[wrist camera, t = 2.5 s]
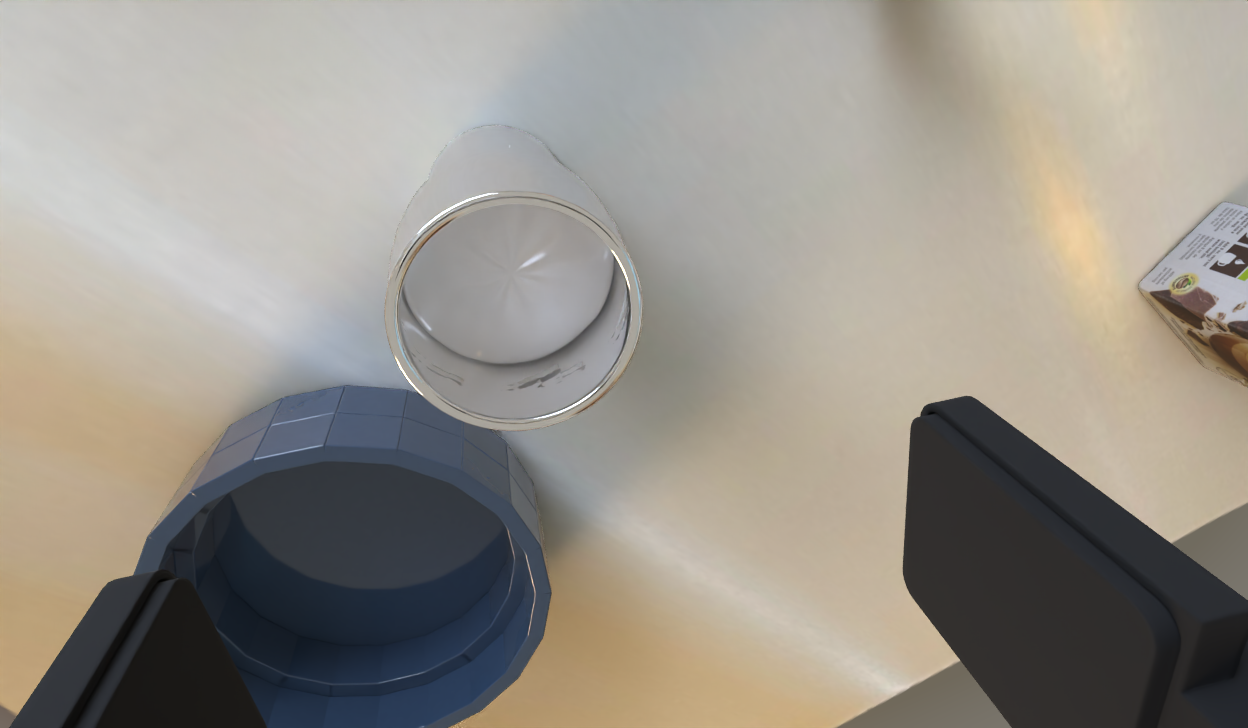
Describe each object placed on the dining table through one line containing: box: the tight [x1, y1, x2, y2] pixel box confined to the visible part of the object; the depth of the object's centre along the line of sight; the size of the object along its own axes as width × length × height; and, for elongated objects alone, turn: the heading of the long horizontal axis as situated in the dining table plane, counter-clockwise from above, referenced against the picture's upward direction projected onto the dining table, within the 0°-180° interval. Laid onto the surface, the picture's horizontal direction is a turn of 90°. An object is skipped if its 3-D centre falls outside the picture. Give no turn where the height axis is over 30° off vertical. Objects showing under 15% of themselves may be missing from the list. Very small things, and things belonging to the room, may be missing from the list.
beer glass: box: [384, 125, 643, 431], centre depth 25 cm, size 7×7×15 cm
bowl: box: [134, 385, 552, 728], centre depth 35 cm, size 18×18×6 cm
